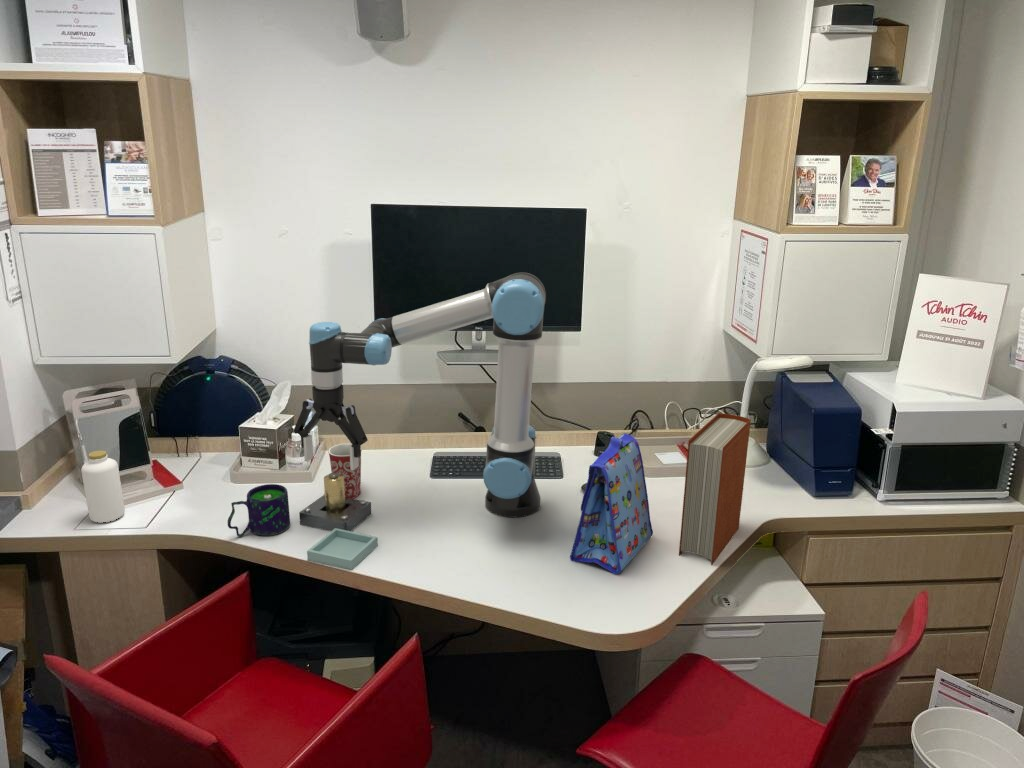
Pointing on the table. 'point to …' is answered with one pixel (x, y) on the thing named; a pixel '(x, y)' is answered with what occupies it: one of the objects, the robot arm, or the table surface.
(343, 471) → the mug
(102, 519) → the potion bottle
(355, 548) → the tray
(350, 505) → the housing
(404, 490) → the table surface
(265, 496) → the mug
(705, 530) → the book
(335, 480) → the brass cylinder
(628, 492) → the lunch bag
